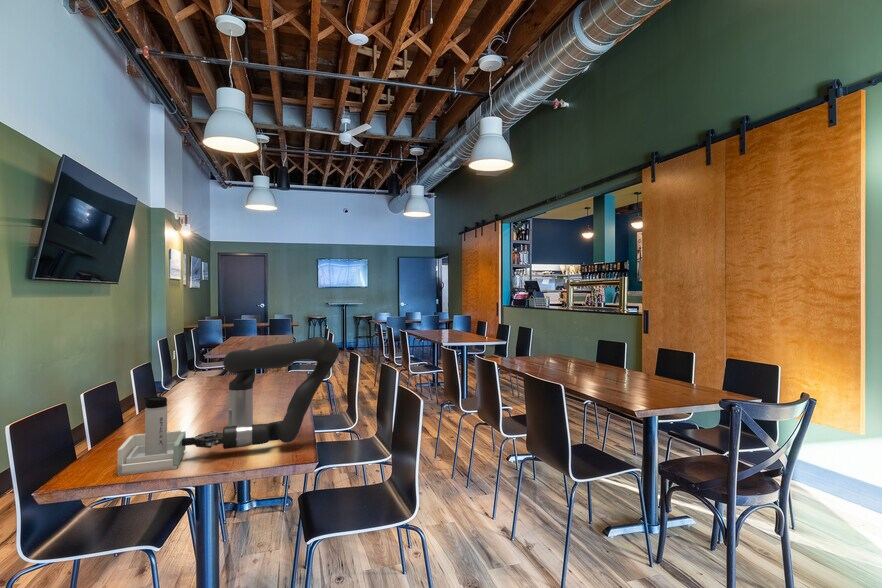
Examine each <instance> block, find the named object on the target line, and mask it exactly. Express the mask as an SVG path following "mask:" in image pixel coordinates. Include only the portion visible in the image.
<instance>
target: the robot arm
mask: <svg viewBox="0 0 882 588" xmlns="http://www.w3.org/2000/svg"><path fill="white" fill-rule="evenodd" d="M339 354H340V348H339V346H338V344H336V343H335V342H334V341H332V340H329V339H327V338H325V337H323V336H316V337H312V338H308V339H305V340H304V339H303V340H300V341H295V342H289V343H288V342H287V343H279V344H273V345H269V346H264V347H260V348H257V349H253V350H252V349H248V348H246V349H236V350H233V351H229V352H228V353H227V354H225V356H224V358H223V363H222V364H223V367H224V368H225V370H226V371H227V372H229V373H231V374H237V375H236V376H235V377H234V378H233V379H232V380H231V381H230V382H229V383H228V409H227V410H228V416H227V417H228V426H224V427H223V429H222V432H218V431H214V430H211V431H208V432H203V433H199V434H198V435H196V436H195V437H194V436H193V437H192V436H191V437H186V438H183V439H182V446H188V447H189V446H195V447H196V448H204V449H212V447H216V446H219V445H222V448H223V450H224V449H225V450H227V449H235V448H245V447H248V446H257V445H263V444H264V445H265V444H267V443H269V442H275V441H281V442H282V443H291V442H293V441H294V440H295V439H296V438H297V436H298V434H299V431H300V429H301V427H302V424H303V420H304V418H305V415H306V414H307V411H308V409H309V407H310V405H311V403H312V401H313V399H314V397H315V394H317V393H316V392H317V391H318V389H319V387H320V386H321V384H322V382H323V381H324V379H325V378H326V377H327V375H328V374H329V372H330V370H331V368H332V367H333V366H334V364H335V362H336V361H337V359H338V358H339V357H338V356H339ZM300 360H302V361H304V360H310V361H315V362H316V364H315V367H314V369H313V371H312V372H311V373H310V375H309V376H308V377H306V379H304V381H302V382H301V384H300V385H298V387H297V388H296V390H295V391H294V393H293V395H292V397H291V399H290V402H289V403H288V406H287V409H286V414H285V415H284V417H283V420H278V421H273V422H269V423H256V424H255V423H254V383H255V380H256V370H262V369H263V370H265V369H266V370H267V369H268V370H270V369H280V368H287V367H289V366H292V365H293V364H294V363H295V362H296V361H300Z"/></svg>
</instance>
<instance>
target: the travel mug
mask: <svg viewBox="0 0 882 588" xmlns="http://www.w3.org/2000/svg"><path fill="white" fill-rule="evenodd" d="M143 400H145V403H144V404H145V407H144V409H145V410H144V411H145V412H144V414H145V415H144V434H145V456H149V455H159V454H167V432H168V399H167V397H165V396H157V395H155V396H145V397H144V398H143Z"/></svg>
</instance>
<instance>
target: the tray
mask: <svg viewBox="0 0 882 588" xmlns="http://www.w3.org/2000/svg"><path fill="white" fill-rule="evenodd" d="M186 433H187V432H186V431H181V433H180V435H179V437H178V438H177V440H176V442H172V443H167V454H159V455H149V456H145V445H143V446H136V447H135V448H134V450H133V451H132V452H131V453H130V455H129V456H128V457H127V458H126V464H131V463H140V462H149V461H158V460H166V459H173V465H178V464H179V465H180V463H181V460H182V458H183V456H184V454H185V451H186V448H187V447H186V446H182V439H183V438H187V437H186V436H187V435H186ZM183 453H184V454H183ZM179 462H180V463H179ZM179 465H178V466H179Z"/></svg>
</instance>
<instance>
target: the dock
mask: <svg viewBox="0 0 882 588" xmlns="http://www.w3.org/2000/svg"><path fill="white" fill-rule="evenodd" d="M181 432H182V429H181V430H180V429H179V430H172V431H167V443H172V442H176V440H177V438H178V437H179V435H180V433H181ZM143 445H145V433H137V434H131V435H129V437H128V438H127V439H126V440H125V441H124V442H123V443H122V445H120V447H119V448H118V449H117V470H116V471H117V472H116V473H117V477H119V476H130V475H136V474H137V475H138V474H144V473H153V472H163V471H170V470H176V469H178V467H179V465H180V463H181V461H180V462H179V464H178V465H173V459H166V460H158V461H149V462H140V463H131V464H126V458H127V457H128V456H129V455H130V453H131V452H132V451H133V450H134V448H135V447H136V446H143ZM184 454H185V452H184V453H183V455H184Z"/></svg>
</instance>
